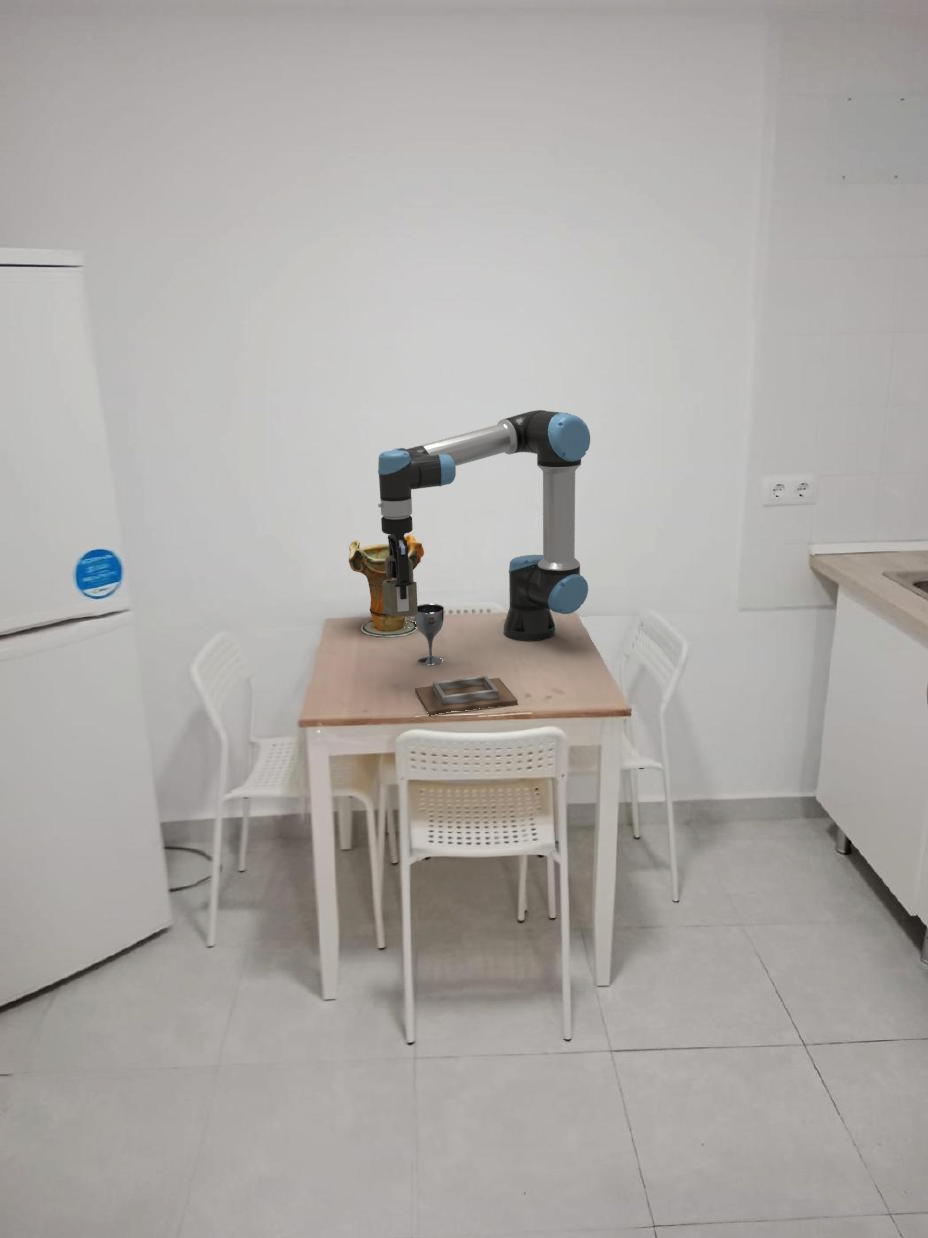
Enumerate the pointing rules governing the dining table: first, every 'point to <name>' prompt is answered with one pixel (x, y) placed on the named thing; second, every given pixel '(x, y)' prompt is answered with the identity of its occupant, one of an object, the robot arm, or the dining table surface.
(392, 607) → the padlock
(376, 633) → the decorative vase
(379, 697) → the dining table surface
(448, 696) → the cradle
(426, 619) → the wine glass
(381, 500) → the robot arm
